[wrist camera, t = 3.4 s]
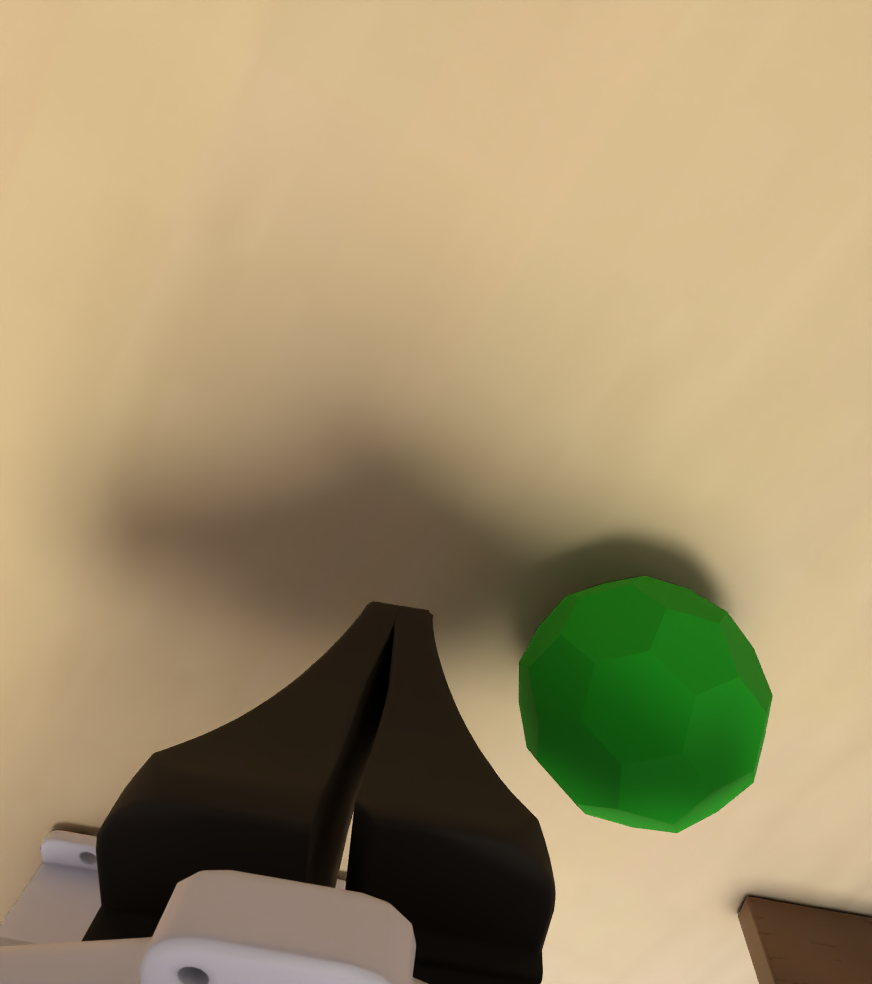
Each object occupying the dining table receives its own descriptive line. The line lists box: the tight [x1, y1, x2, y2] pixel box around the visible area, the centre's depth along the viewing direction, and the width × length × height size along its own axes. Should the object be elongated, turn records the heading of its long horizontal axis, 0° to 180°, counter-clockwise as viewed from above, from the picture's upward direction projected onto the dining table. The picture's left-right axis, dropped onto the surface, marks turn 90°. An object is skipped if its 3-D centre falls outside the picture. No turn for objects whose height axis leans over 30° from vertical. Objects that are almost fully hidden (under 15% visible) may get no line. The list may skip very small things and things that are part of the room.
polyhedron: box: [519, 576, 773, 833], centre depth 15 cm, size 5×5×5 cm
